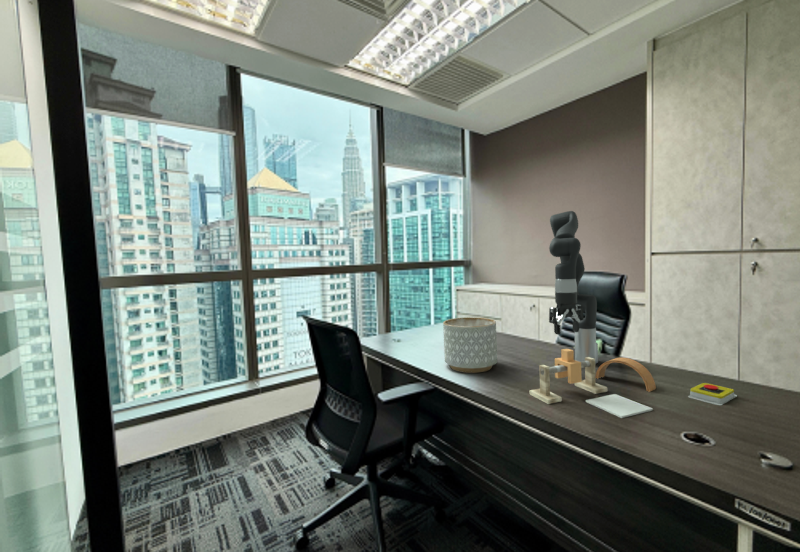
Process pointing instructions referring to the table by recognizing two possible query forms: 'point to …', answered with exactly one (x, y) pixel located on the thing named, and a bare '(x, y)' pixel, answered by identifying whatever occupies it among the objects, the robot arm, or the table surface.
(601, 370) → the arch
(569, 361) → the wooden bridge block
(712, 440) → the table surface
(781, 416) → the table surface
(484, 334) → the planter
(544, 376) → the rail stand
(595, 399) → the mat
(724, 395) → the emergency button
